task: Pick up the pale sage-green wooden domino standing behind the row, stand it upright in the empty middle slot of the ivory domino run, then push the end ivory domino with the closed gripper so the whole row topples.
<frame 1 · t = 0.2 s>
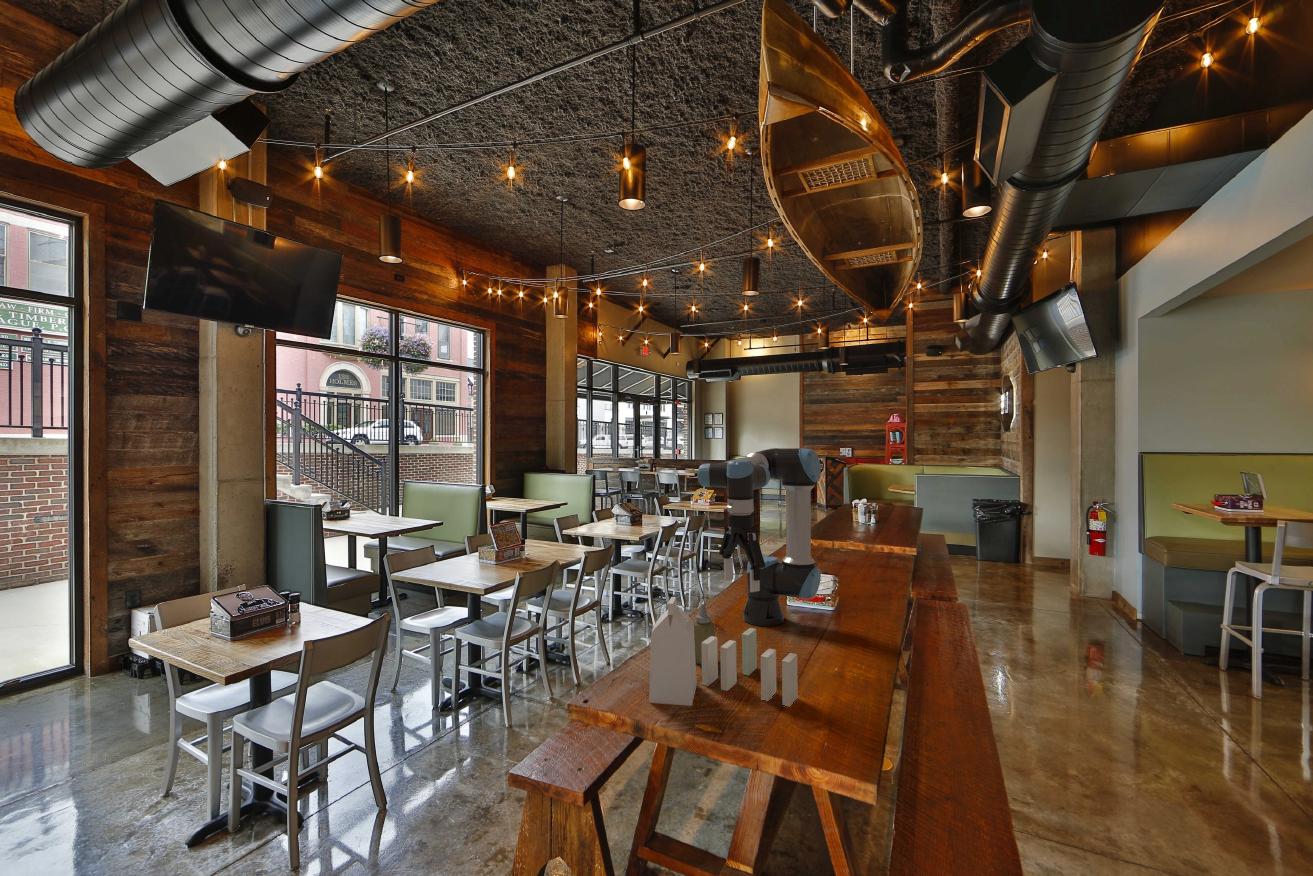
hand: (741, 585, 168), 27 cm above the table, tool pointing down, fingers open, 13 cm apart
squeeze bottle: (703, 662, 179), on the table
domino 1: (790, 702, 152), on the table
domino 5: (710, 681, 165), on the table
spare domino: (749, 671, 172), on the table
domino 2: (768, 696, 155), on the table
domino 4: (728, 686, 162), on the table
milk: (673, 694, 158), on the table
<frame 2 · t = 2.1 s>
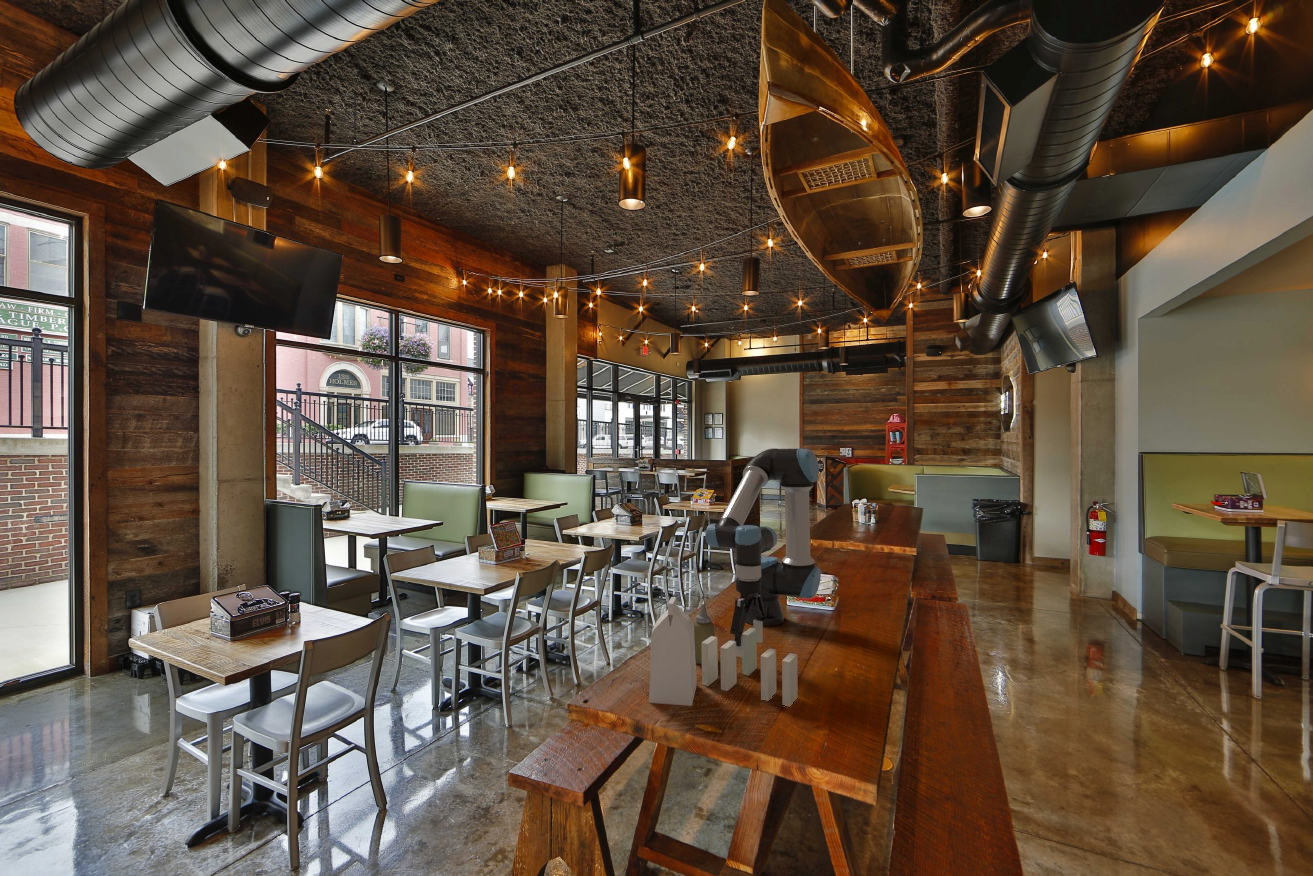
hand: (748, 649, 171), 7 cm above the table, tool pointing down, fingers open, 13 cm apart
domino 4: (728, 686, 162), on the table, touching gripper
everything else where it was.
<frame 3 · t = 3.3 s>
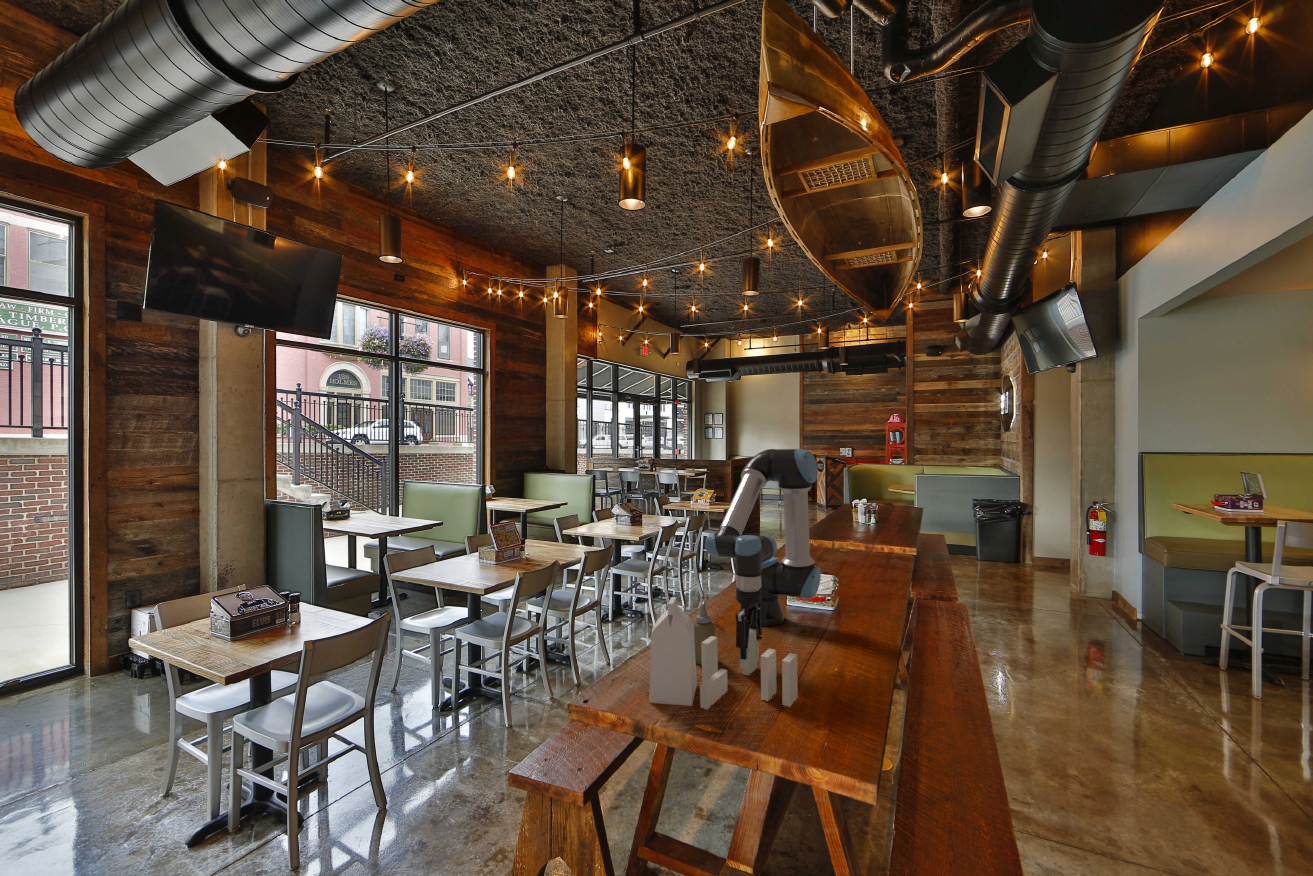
hand: (749, 664, 172), 2 cm above the table, tool pointing down, fingers closed on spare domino, 6 cm apart
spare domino: (749, 671, 172), on the table, touching gripper
domino 4: (724, 680, 160), point 3 cm above the table, tilted 90°
everything else where it was.
when the fingers open (3 cm above the table, at t = 10.1 s): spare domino stays where it is, on the table.
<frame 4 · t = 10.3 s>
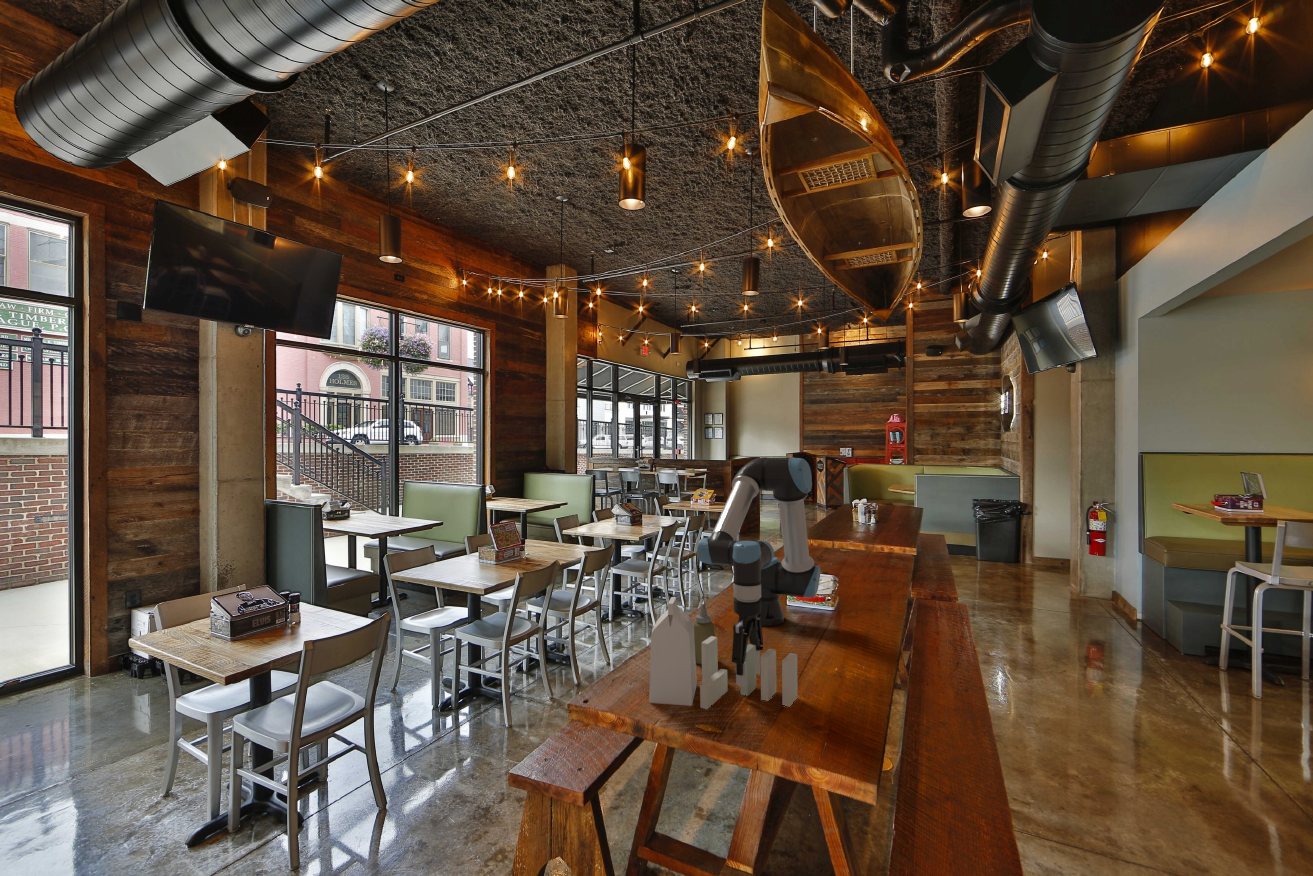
hand: (748, 679, 159), 3 cm above the table, tool pointing down, fingers open, 8 cm apart
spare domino: (748, 691, 159), on the table
everything else where it was.
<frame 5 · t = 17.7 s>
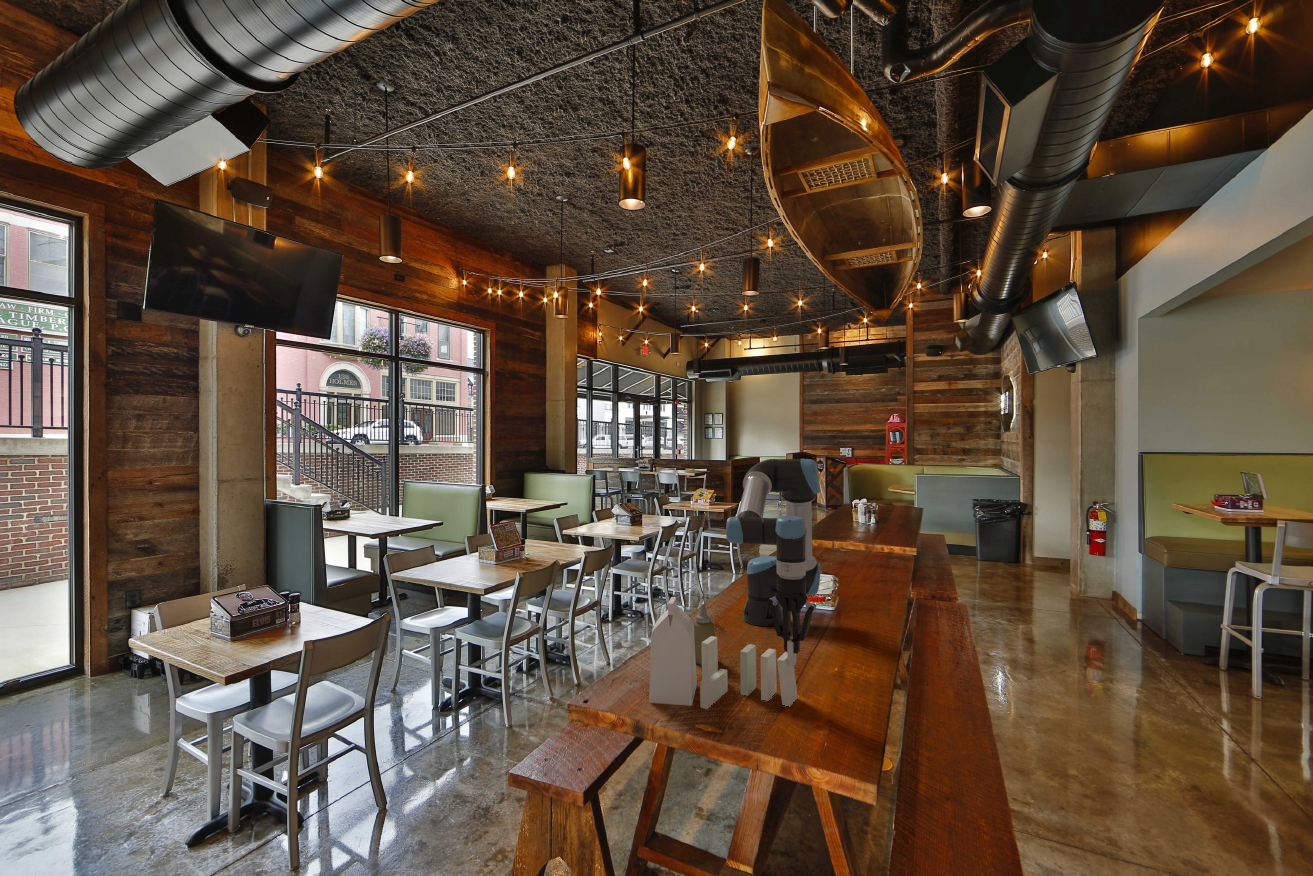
hand: (792, 664, 152), 10 cm above the table, tool pointing down, fingers closed
domino 1: (790, 701, 152), on the table, tilted 7°
everything else where it was.
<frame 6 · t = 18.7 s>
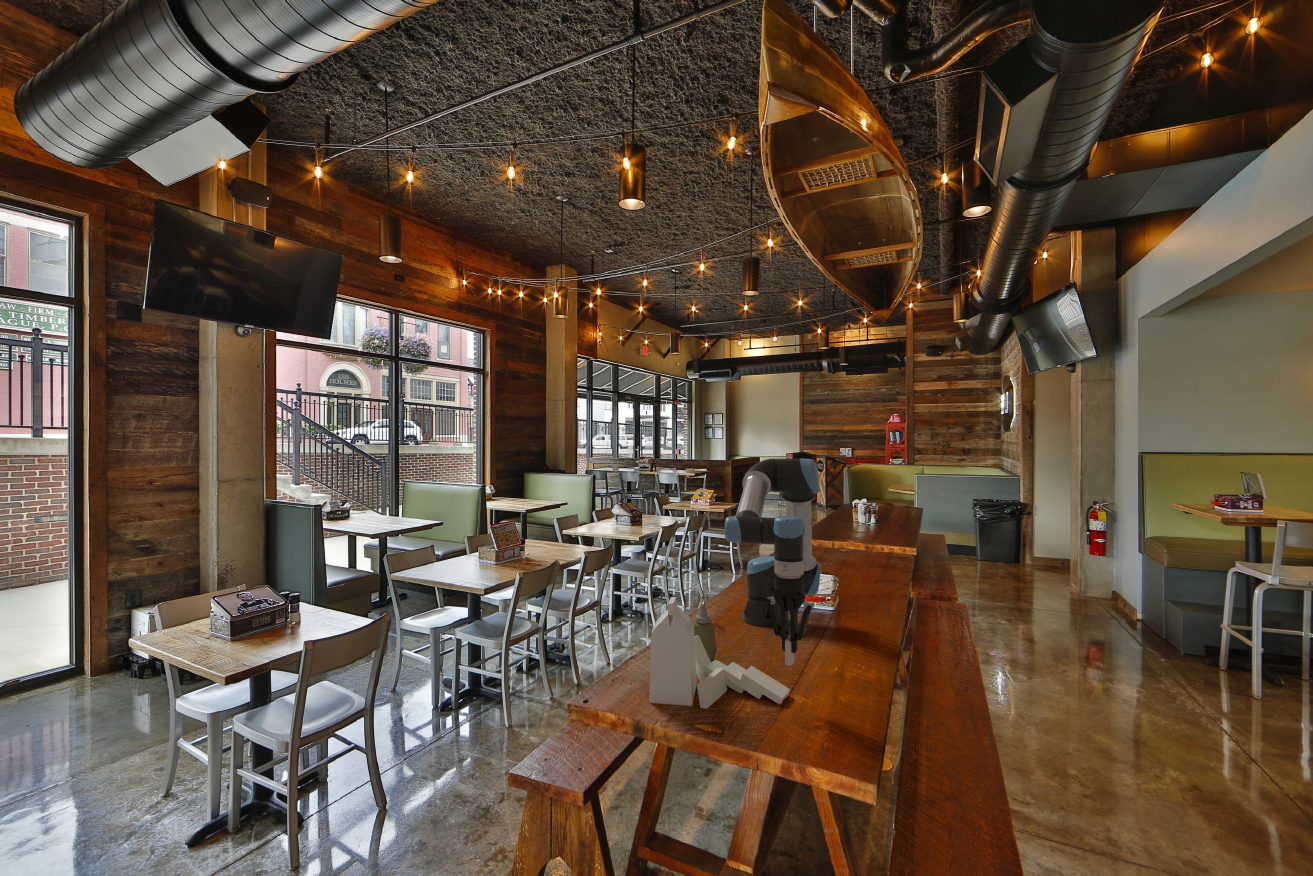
hand: (789, 663, 152), 10 cm above the table, tool pointing down, fingers closed
domino 1: (785, 697, 153), point 1 cm above the table, tilted 70°, touching domino 2
domino 5: (708, 679, 166), on the table, tilted 29°
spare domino: (747, 686, 160), point 1 cm above the table, tilted 75°
domino 2: (764, 692, 156), point 1 cm above the table, tilted 71°, touching domino 1
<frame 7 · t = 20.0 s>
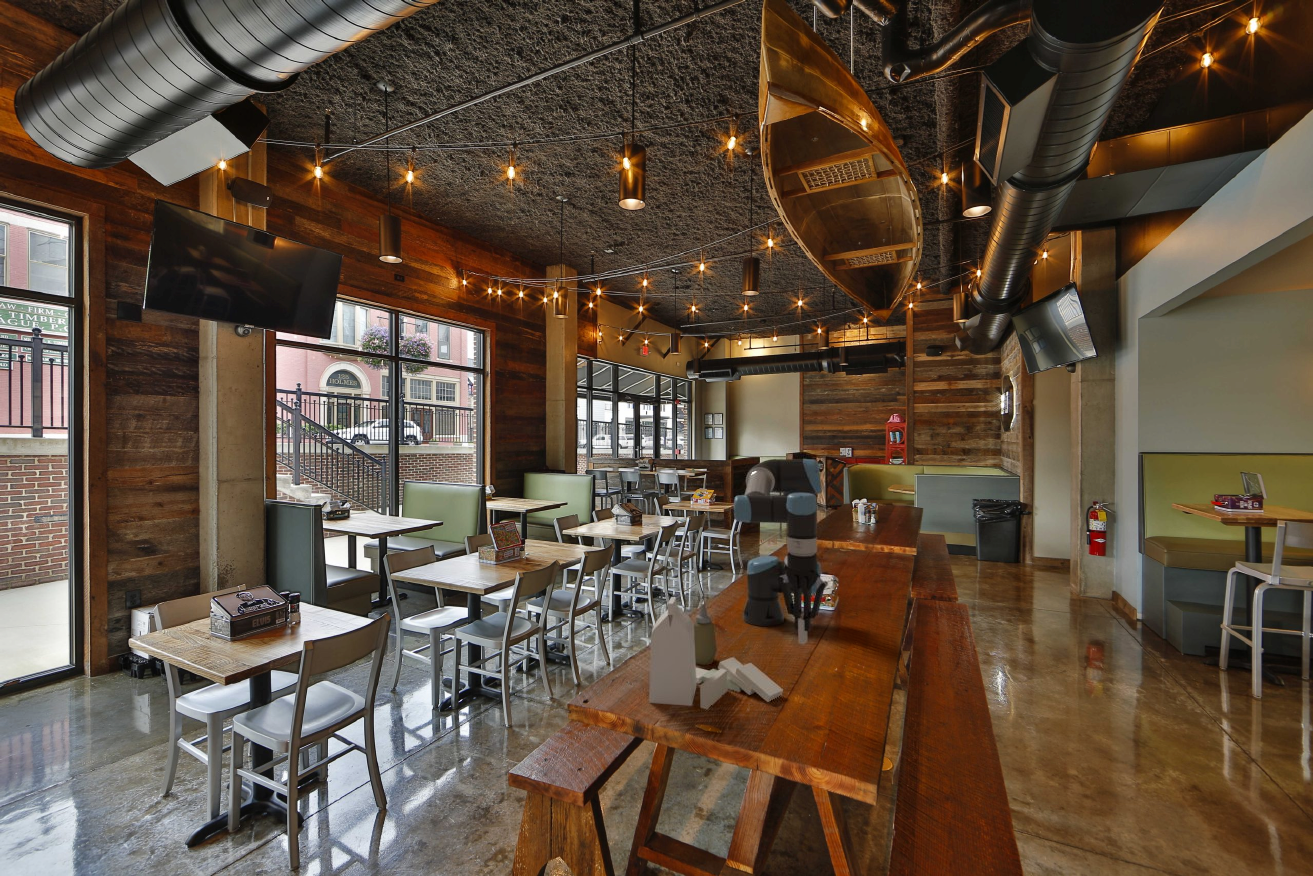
hand: (802, 642, 150), 17 cm above the table, tool pointing down, fingers closed
domino 1: (775, 696, 153), point 1 cm above the table, tilted 71°, touching domino 2
domino 5: (704, 678, 166), point 1 cm above the table, tilted 90°
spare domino: (744, 686, 161), on the table, tilted 90°, touching domino 2
domino 2: (757, 689, 158), point 1 cm above the table, tilted 71°, touching domino 1, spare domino
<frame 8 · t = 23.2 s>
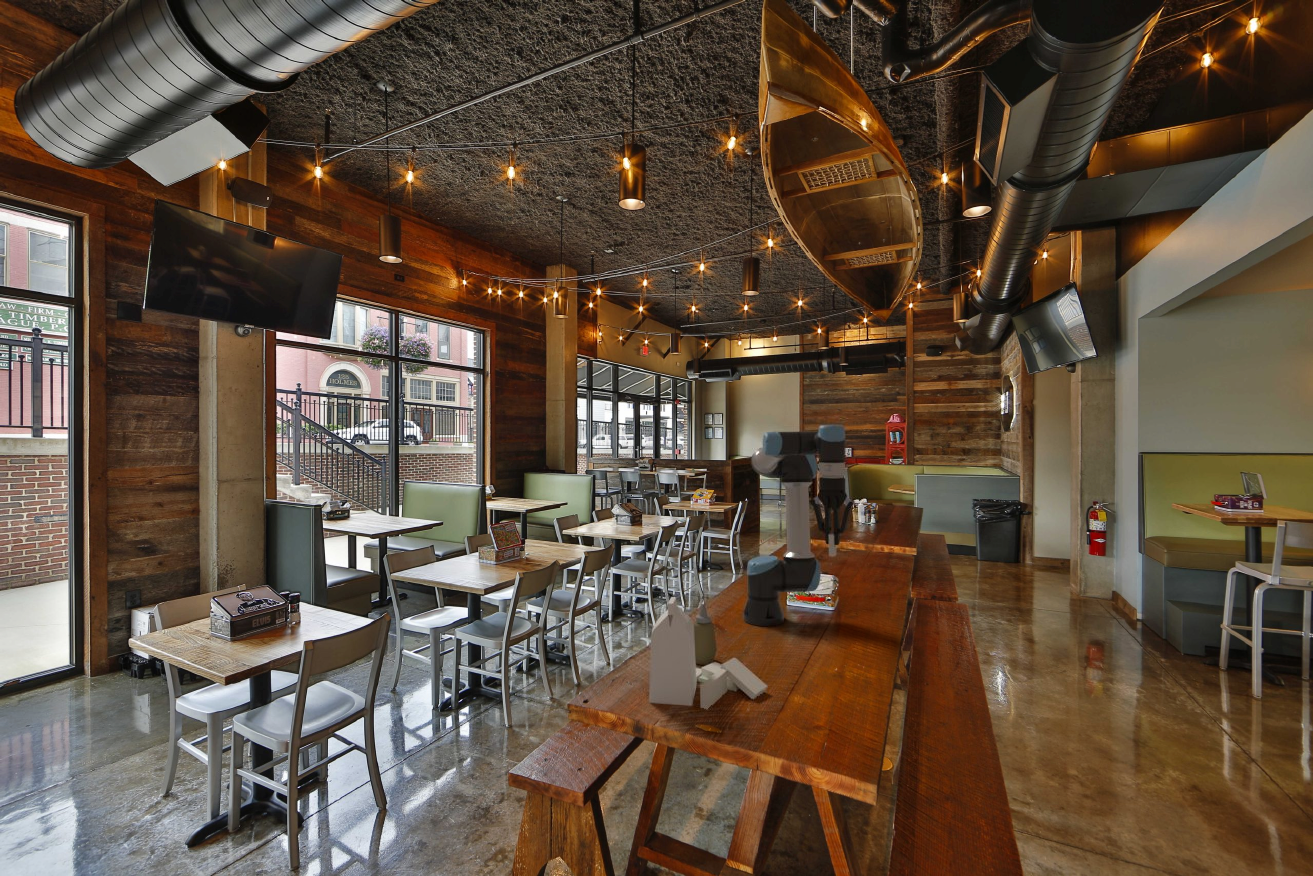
hand: (832, 555, 171), 34 cm above the table, tool pointing down, fingers closed
domino 1: (760, 693, 156), point 1 cm above the table, tilted 65°, touching domino 2
domino 5: (700, 677, 167), point 1 cm above the table, tilted 90°
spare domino: (740, 686, 161), on the table, tilted 90°, touching domino 2
domino 2: (739, 681, 160), point 2 cm above the table, tilted 90°, touching domino 1, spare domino
everything else where it was.
at the end: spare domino inside the target area (2.2 cm from its centre), on the table; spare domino tilted 90°; domino 5 tilted 90° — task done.
